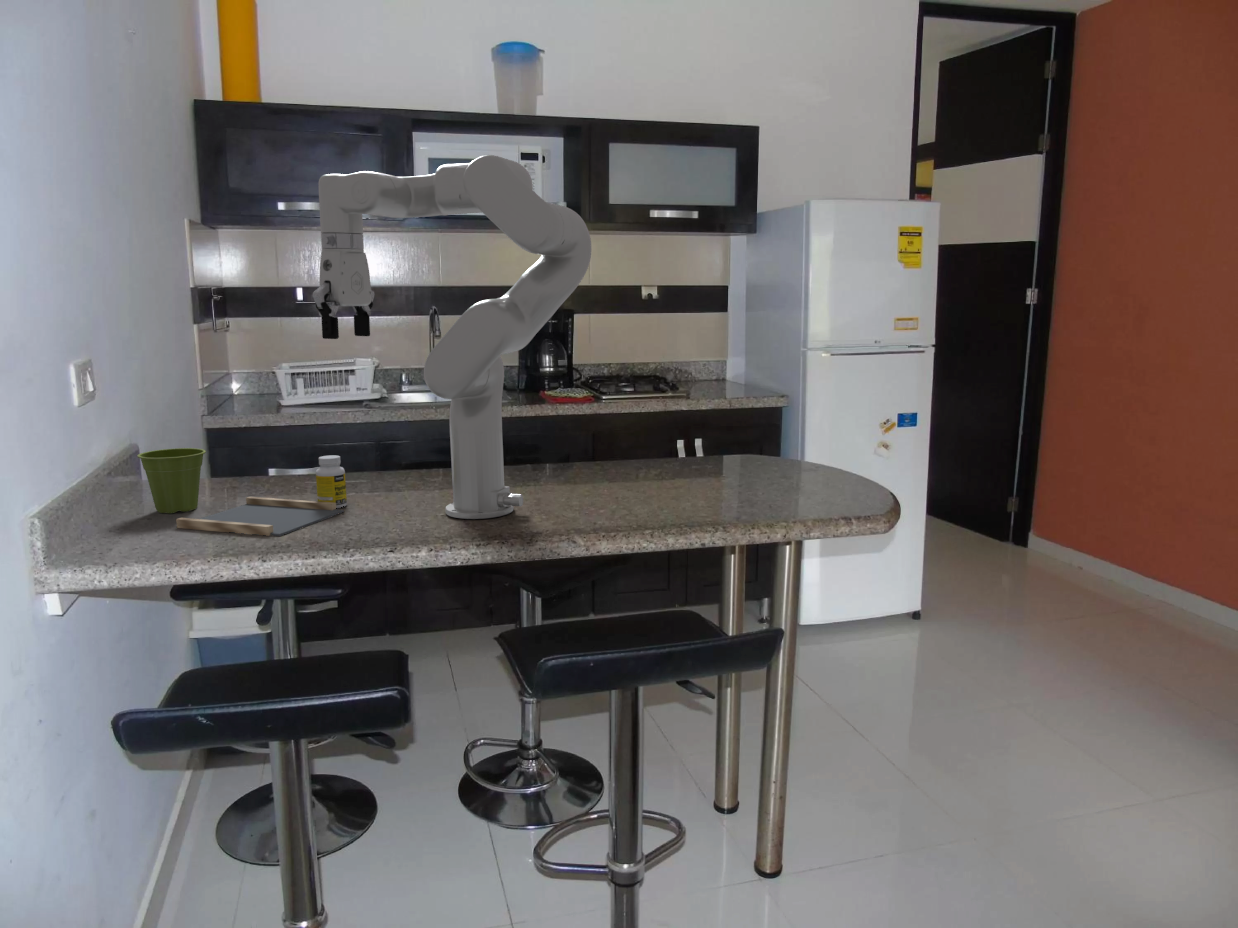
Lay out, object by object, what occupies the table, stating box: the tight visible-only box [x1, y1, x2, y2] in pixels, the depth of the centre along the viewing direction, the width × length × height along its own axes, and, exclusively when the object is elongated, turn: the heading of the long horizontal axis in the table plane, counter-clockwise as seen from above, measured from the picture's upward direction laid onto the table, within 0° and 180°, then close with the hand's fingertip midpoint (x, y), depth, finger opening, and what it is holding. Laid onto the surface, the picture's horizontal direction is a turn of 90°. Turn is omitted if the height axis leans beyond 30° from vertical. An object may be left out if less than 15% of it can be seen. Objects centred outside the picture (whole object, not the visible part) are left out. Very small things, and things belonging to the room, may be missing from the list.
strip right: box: [245, 496, 336, 510], centre depth 178 cm, size 20×1×2 cm, turn 71°
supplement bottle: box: [315, 455, 348, 509], centre depth 178 cm, size 5×5×10 cm
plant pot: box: [136, 447, 207, 514], centre depth 177 cm, size 12×12×11 cm
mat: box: [199, 503, 345, 537], centre depth 169 cm, size 22×18×1 cm
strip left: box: [175, 517, 273, 537], centre depth 161 cm, size 20×1×2 cm, turn 71°
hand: (346, 337), depth 174 cm, fingers open, 9 cm apart
